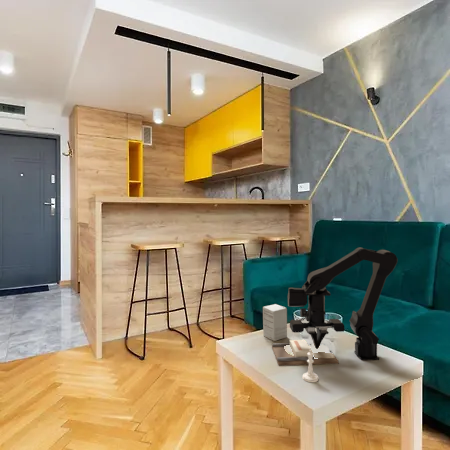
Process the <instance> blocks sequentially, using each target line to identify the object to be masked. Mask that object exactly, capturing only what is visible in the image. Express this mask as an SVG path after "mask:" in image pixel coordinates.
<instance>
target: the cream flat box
mask: <svg viewBox="0 0 450 450" xmlns="http://www.w3.org/2000/svg"><path fill="white" fill-rule="evenodd" d="M289 343H290V347H291V349H292V352H293V354H294V356H295V357H308V355H307V353H308V352H310V346H309V345H308V342H307V341H306V339H289ZM311 353H312V350H311Z"/></svg>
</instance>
